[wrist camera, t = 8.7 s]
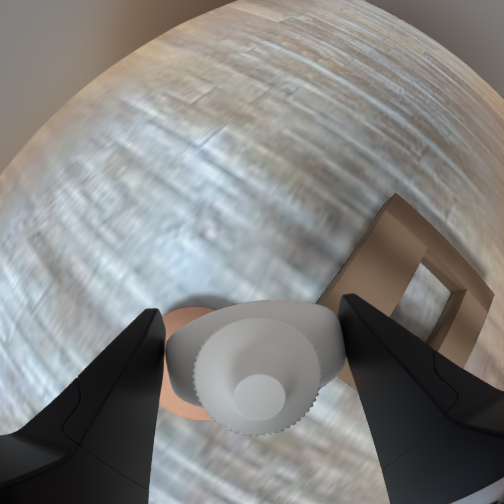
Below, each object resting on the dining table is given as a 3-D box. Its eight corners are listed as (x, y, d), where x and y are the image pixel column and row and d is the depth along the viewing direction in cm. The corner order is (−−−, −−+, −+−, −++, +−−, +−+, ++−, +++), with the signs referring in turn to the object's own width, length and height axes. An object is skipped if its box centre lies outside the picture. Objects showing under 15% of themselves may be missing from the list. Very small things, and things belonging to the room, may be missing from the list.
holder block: (408, 426, 19) (422, 434, 16) (287, 338, 21) (293, 340, 18) (479, 297, 22) (494, 294, 19) (384, 204, 24) (395, 192, 21)
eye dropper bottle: (289, 392, 14) (369, 526, 3) (194, 361, 15) (59, 432, 3) (314, 320, 15) (459, 299, 4) (219, 289, 16) (134, 192, 4)
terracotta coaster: (207, 436, 19) (206, 440, 18) (124, 363, 20) (119, 365, 19) (280, 357, 20) (282, 358, 20) (192, 283, 22) (189, 281, 21)
